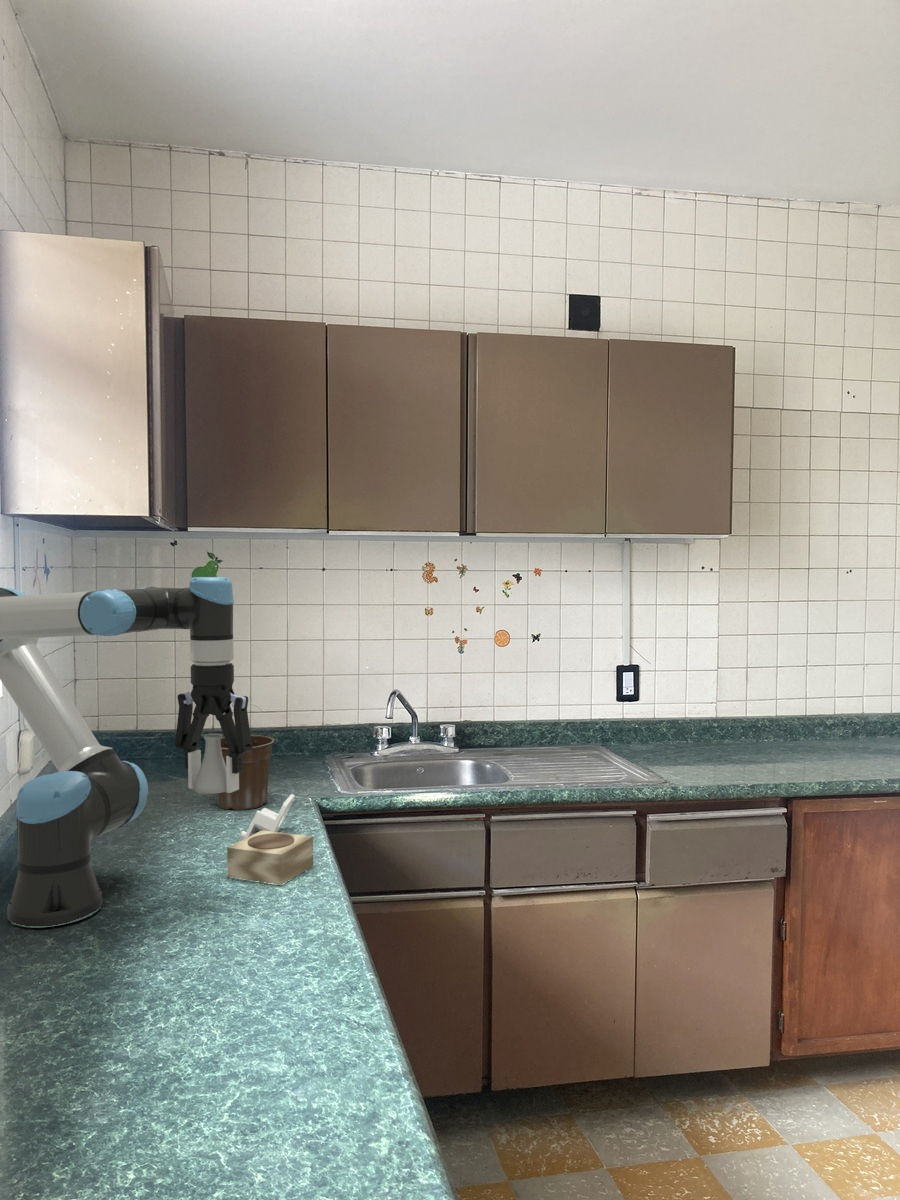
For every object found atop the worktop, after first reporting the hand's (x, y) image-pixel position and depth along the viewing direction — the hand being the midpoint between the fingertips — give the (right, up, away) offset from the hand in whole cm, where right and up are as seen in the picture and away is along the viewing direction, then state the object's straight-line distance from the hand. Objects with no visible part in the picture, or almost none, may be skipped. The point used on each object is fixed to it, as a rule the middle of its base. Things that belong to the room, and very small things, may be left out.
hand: (213, 788), depth 162 cm
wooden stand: (+7, -20, +15) cm, 26 cm away
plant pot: (-10, -18, +64) cm, 68 cm away
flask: (0, 0, 0) cm, 0 cm away
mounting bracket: (+2, -19, +38) cm, 43 cm away
